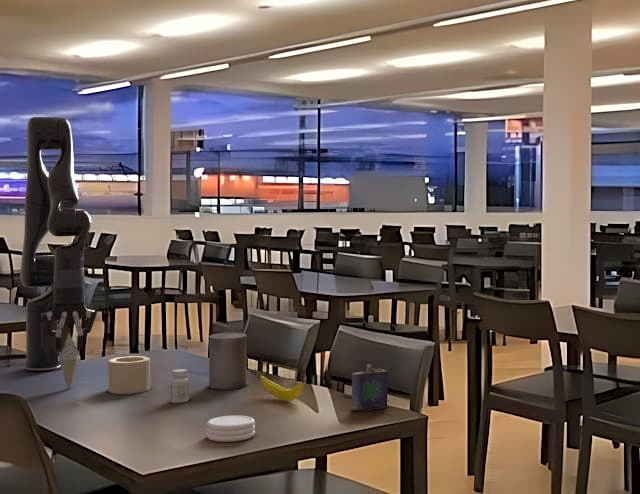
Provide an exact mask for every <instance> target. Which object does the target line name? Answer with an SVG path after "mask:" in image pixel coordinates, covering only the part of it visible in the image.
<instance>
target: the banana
mask: <svg viewBox="0 0 640 494" xmlns="http://www.w3.org/2000/svg"><path fill="white" fill-rule="evenodd" d="M259 378H260V382H261V384H262V386H263V388H264V389H265V391H266V392H268V394H270V395H271V396H273V397H274V398H276V399H278V400H281V401H284V402H292V401H294V400H295V399H297V398H298V397H299V396H301V394H302V392H303V389H304V387H305V385H304V383H305V382H306V380H305V379H302V380H301V382H298V383H297V384H295V385H294V386H293V387H292V388H287V387H284V386H281V385H280V384H278V383H276V382H273V381H272V380H270V379H268V378H267V377H266V376H264V375H259Z"/></svg>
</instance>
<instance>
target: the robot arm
mask: <svg viewBox="0 0 640 494" xmlns="http://www.w3.org/2000/svg"><path fill="white" fill-rule="evenodd" d="M73 145H74V144H73V131H72V127H71V123H70V121H69V120H68V119H67V118H66V117H61V116H59V117H58V116H31V117H30V118H29V120H28V122H27V127H26V159H27V161H26V162H27V163H26V164H27V169H26V185H25V186H26V187H25V197H24V231H23V232H24V235H23V246H22V252H21V261H20V262H21V264H20V273H19V274H20V283H21V284H22V286H23V287H25V288H47V290H46V291H45V292H44V293H43V294H41V295H38V296H37V297H35V298H31V299H29V300H28V301H26V304H25V328H26V329H25V346H26V347H25V370H26V371H28V372H48V371H55V370H59V369H62V368H61V364H60V361H59V359H60V358H59V356H60V354H59V352H61V349H62V336H61V335H62V331H63V329H64V327H65V325H69V324H70V325H74V326H75V328H76V333H77V335H76V348H77V349H78V350H79V351H81V350H82V349H83V348H84V336H85V335H87V334H90V333H91V331H92V328H93V326H94V323H95V320H96V317H97V315H98V312H97V311H96V310H94V309H92V310H91V309H87V306H86V304H85V303H86V301H85V297H86V293H85V292H86V291H85V289H86V288H85V285H86V280H85V279H86V278H85V271H84V267H85V266H84V265H85V264H84V263H85V262H84V261H85V259H84V256H85V255H84V252H85V247H86V243H87V239H88V235H89V233H90V229H91V225H92V218H91V215H90V213H89V212H88V211H87V210H85V209H74V208H75V207H77V205H78V204H79V192H78V188H77V184H76V179H75V171H74V170H75V169H74V168H75V167H74V148H73V147H74V146H73ZM41 151H60V153H59V154H60V155H59V157H58V159H57V161H56V163H55V164H54V165H53V167H52V168H51V170H50V172H48V171H47V168H46V167H45V164H44V163H43V161H42V156H41ZM48 233H50V234H51V235H52V236H54V237H74V239H73V240H72V241H71V242H70V243H67V244H63V245H58V246H57V247H56V248H55V250H54V254H49V255H48V254H47V255H46V254H44V255H36V253H37V251H38V248H39V245H40V244H41V242H42V241H43V239H44V238H45V237H46V235H47V234H48ZM85 315H86V318H88V320H87V322H86V326H85V328H83V327H82V323H81V320H82V318H83V317H84V316H85Z"/></svg>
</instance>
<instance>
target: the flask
mask: <svg viewBox="0 0 640 494" xmlns="http://www.w3.org/2000/svg"><path fill="white" fill-rule="evenodd" d="M364 366H366V368H365V371H357V372H353V373H352V374H351V411H353V412H363V411H372V410H377V409H379V410H380V409H387V408H388V392H389V391H388V382H389V378H388V377H389V372H388V370H387V369H383V368H373V367H372V363H367V364H365V365H364Z"/></svg>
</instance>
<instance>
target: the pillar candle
mask: <svg viewBox="0 0 640 494" xmlns="http://www.w3.org/2000/svg"><path fill="white" fill-rule="evenodd" d="M208 338H209V349H208V352H209V353H208V354H209V356H208V357H209V361H208V362H209V363H208V365H209V367H208V369H209V370H208V374H209V377H208V380H209V381H208V386H209V388H210V389H212V390H223V391H224V390H225V391H226V390H227V391H228V390H237V389H241V388H244V387H246V386H247V334H245V333H242V332H230V330H228V331H227V332H220V333H213V334H211V335H208Z"/></svg>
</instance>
